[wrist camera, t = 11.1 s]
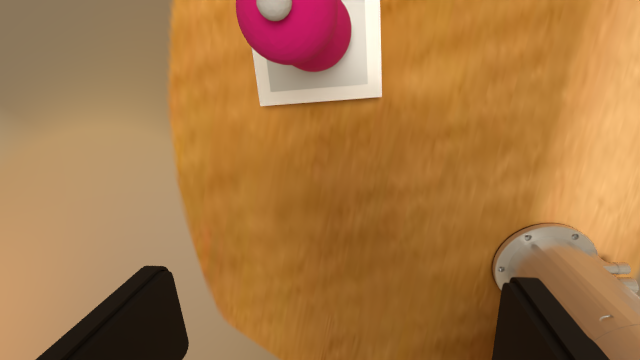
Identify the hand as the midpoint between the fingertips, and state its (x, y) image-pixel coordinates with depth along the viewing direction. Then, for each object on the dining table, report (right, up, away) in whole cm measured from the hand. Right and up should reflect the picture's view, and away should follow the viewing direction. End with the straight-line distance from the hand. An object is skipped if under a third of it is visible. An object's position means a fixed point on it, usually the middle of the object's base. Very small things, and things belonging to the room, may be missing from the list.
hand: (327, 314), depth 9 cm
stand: (-1, +20, +28) cm, 34 cm away
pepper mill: (0, +19, +25) cm, 31 cm away
